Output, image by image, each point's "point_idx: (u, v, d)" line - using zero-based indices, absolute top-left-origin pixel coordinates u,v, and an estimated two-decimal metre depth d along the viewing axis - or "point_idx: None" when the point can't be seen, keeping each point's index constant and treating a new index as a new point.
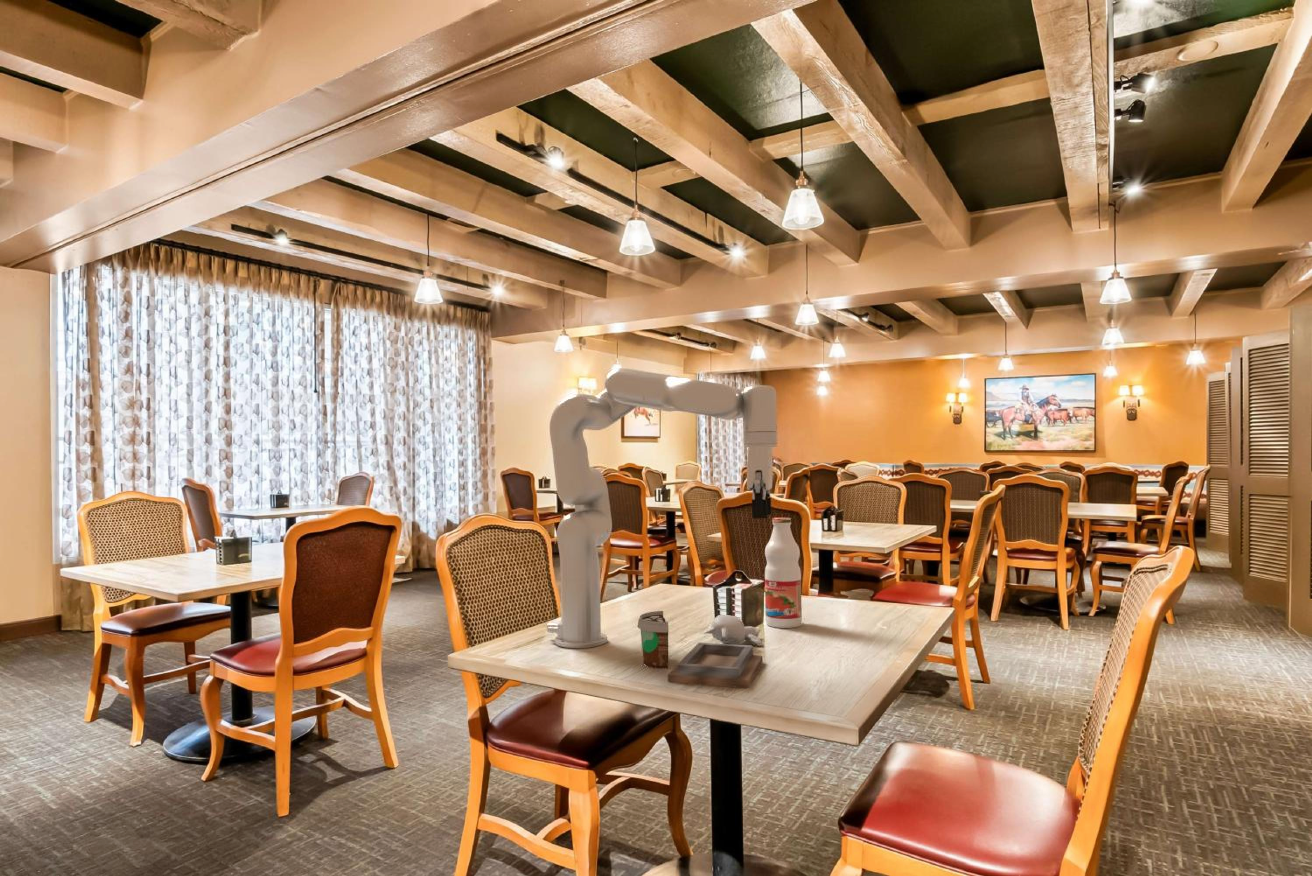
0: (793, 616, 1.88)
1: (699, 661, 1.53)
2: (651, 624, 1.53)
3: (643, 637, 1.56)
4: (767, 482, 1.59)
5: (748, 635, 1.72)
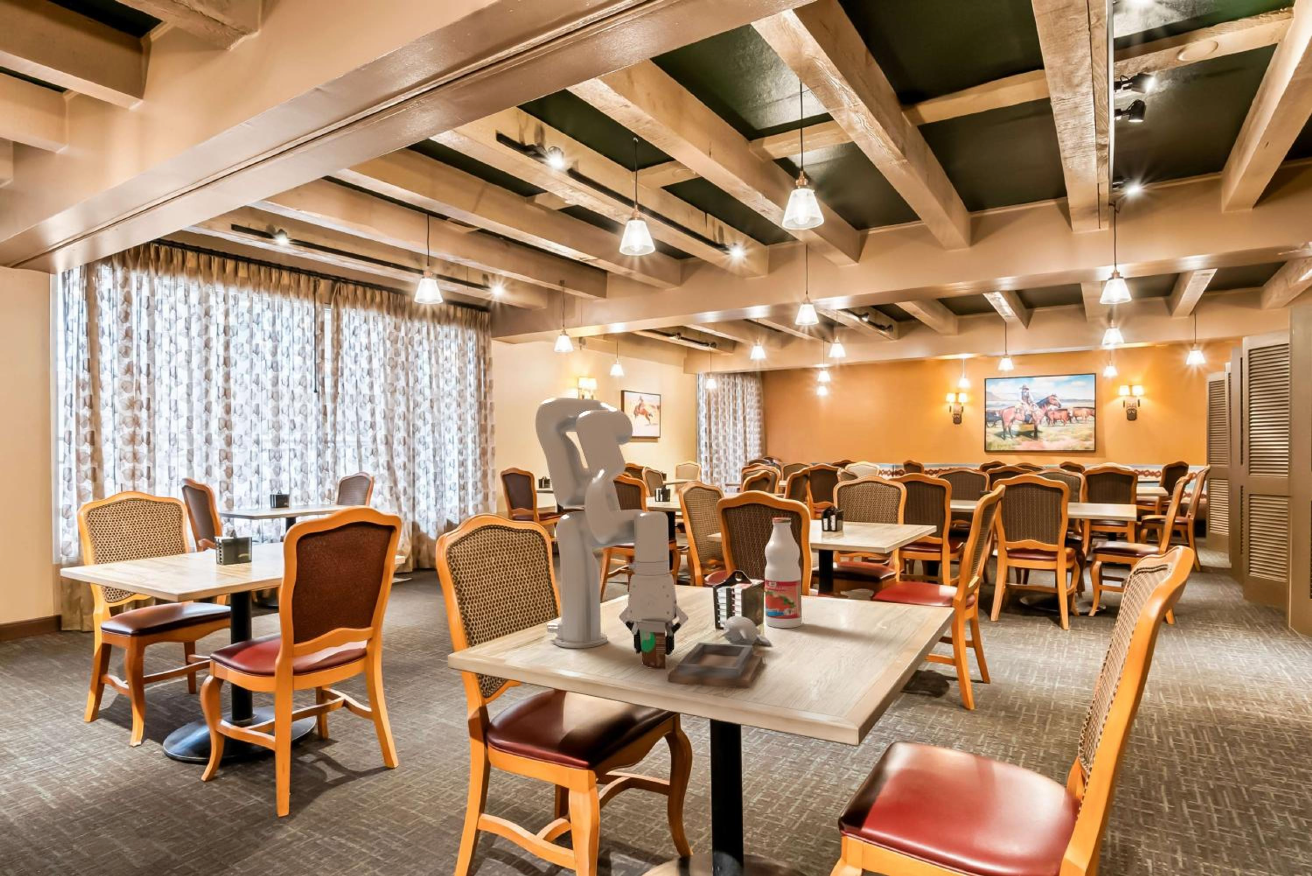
0: (793, 616, 1.88)
1: (699, 661, 1.53)
2: (648, 624, 1.53)
3: (641, 637, 1.56)
4: None
5: None
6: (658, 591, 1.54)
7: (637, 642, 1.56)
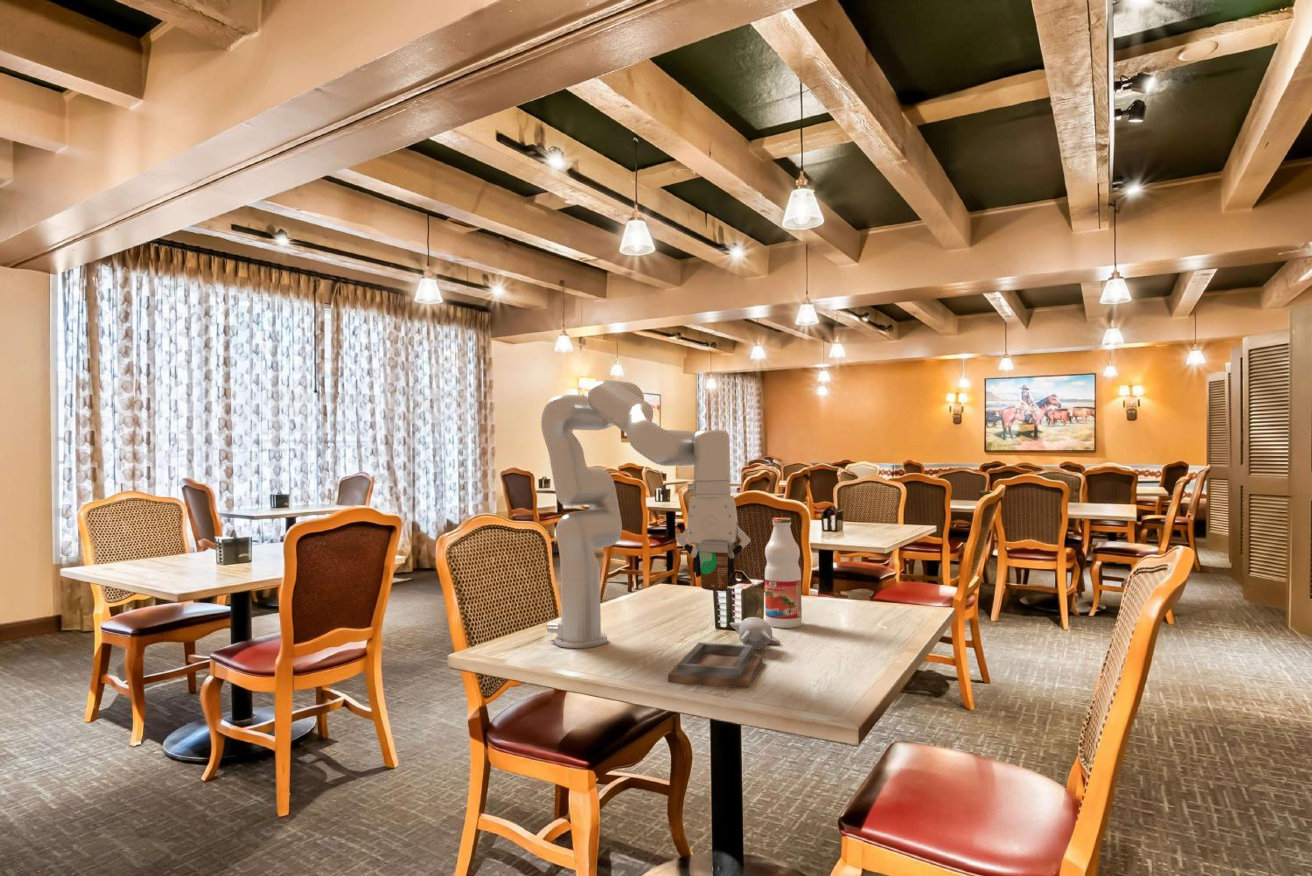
0: (793, 616, 1.88)
1: (699, 661, 1.53)
2: (710, 544, 1.47)
3: (701, 559, 1.50)
4: None
5: None
6: (720, 511, 1.48)
7: (697, 565, 1.50)
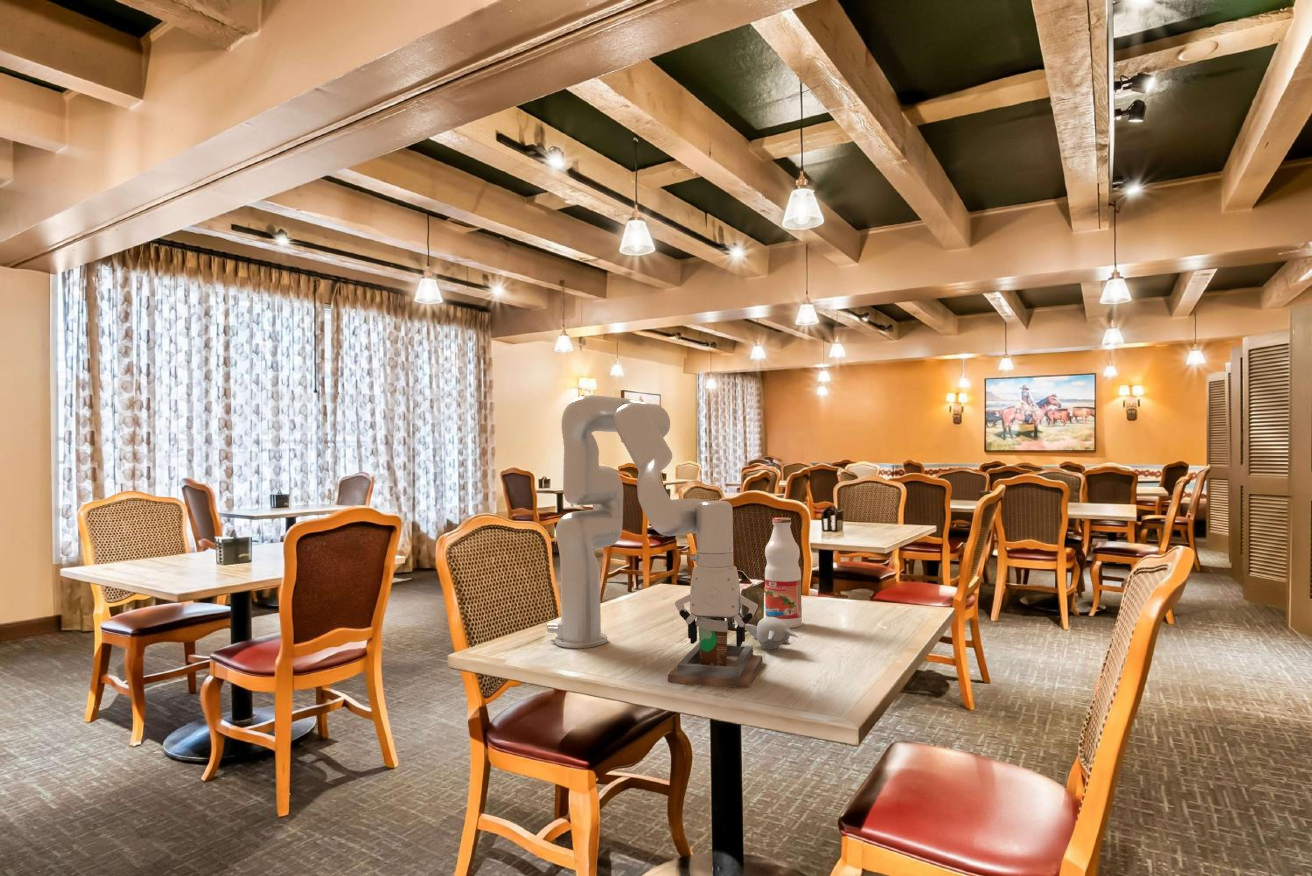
0: (793, 616, 1.88)
1: (699, 661, 1.53)
2: (710, 622, 1.46)
3: (700, 635, 1.49)
4: None
5: None
6: (723, 584, 1.47)
7: (692, 632, 1.50)
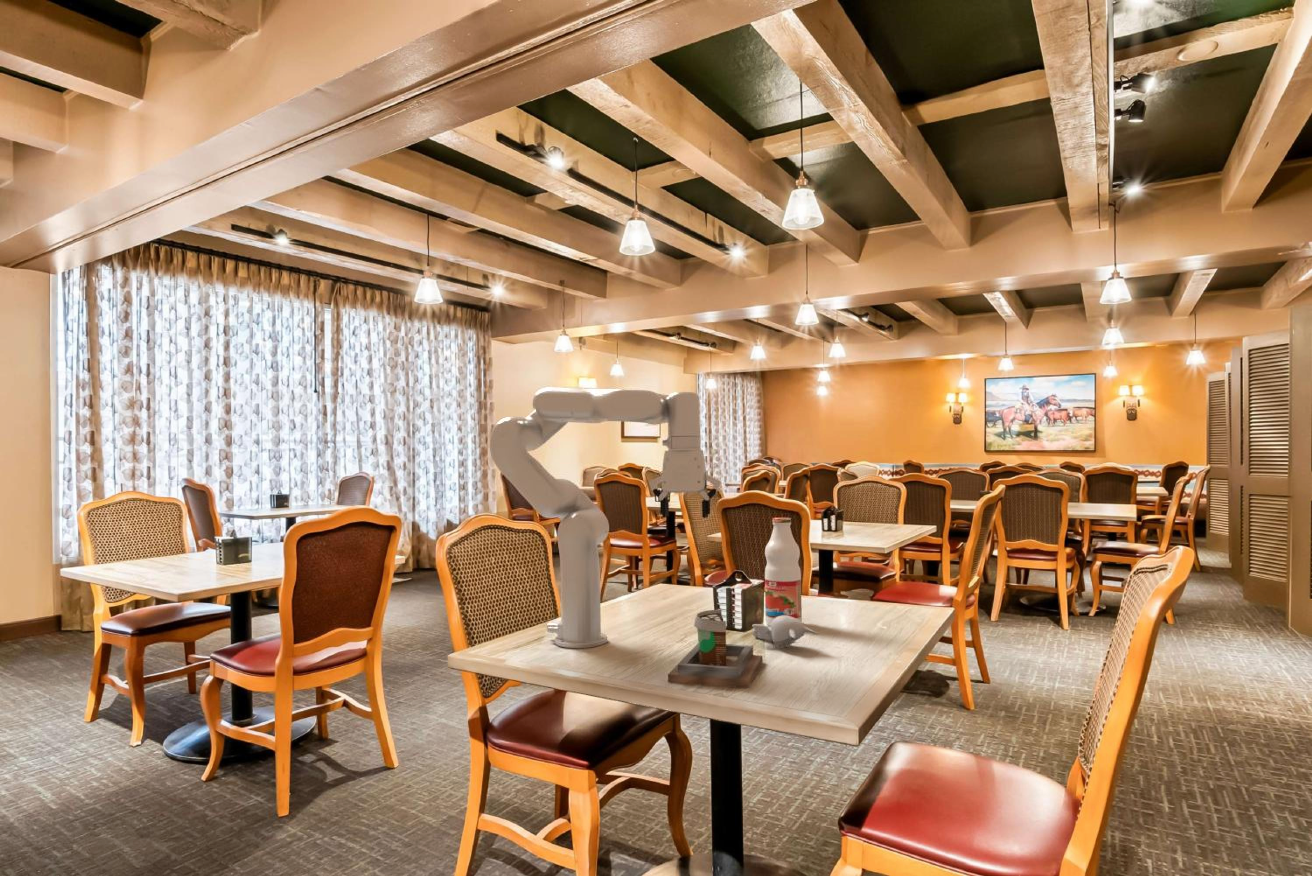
0: (793, 616, 1.88)
1: (699, 661, 1.53)
2: (708, 623, 1.46)
3: (699, 636, 1.49)
4: None
5: None
6: (690, 463, 1.69)
7: (663, 507, 1.71)
